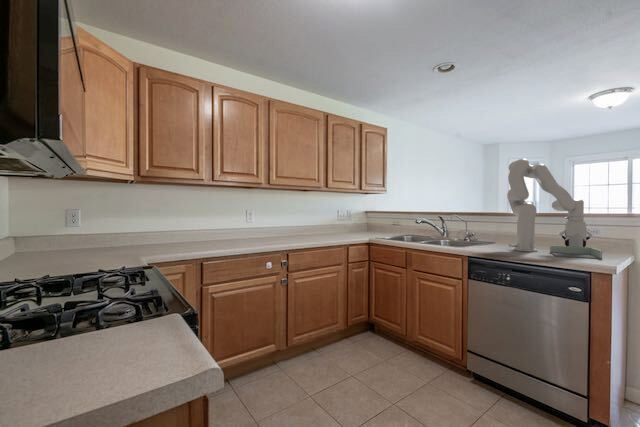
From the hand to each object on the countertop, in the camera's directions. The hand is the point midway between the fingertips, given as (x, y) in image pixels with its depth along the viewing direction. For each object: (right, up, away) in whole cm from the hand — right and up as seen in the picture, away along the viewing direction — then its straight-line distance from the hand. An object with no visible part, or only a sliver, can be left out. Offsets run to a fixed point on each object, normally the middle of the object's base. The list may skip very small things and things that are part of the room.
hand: (575, 246), depth 189 cm
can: (0, -4, 0) cm, 4 cm away
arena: (-14, -4, -15) cm, 21 cm away
